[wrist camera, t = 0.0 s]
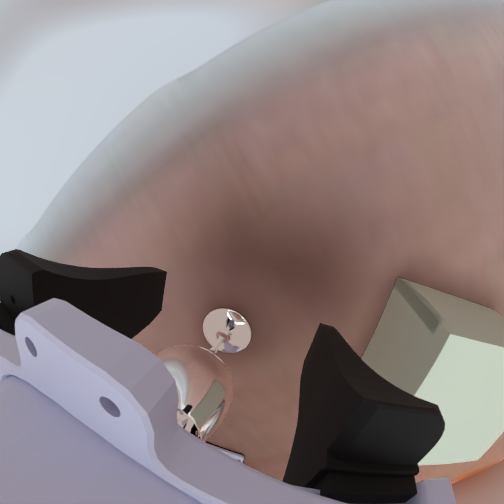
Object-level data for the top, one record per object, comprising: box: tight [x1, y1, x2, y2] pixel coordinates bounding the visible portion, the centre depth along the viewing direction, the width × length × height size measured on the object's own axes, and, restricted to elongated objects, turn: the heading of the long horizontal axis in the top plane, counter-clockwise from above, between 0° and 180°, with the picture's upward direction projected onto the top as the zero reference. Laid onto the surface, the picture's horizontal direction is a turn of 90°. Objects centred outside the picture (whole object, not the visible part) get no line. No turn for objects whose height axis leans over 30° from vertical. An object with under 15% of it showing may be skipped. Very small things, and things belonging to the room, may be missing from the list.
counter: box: [361, 277, 504, 465], centre depth 15 cm, size 10×12×10 cm
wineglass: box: [156, 308, 252, 442], centre depth 18 cm, size 6×6×12 cm
